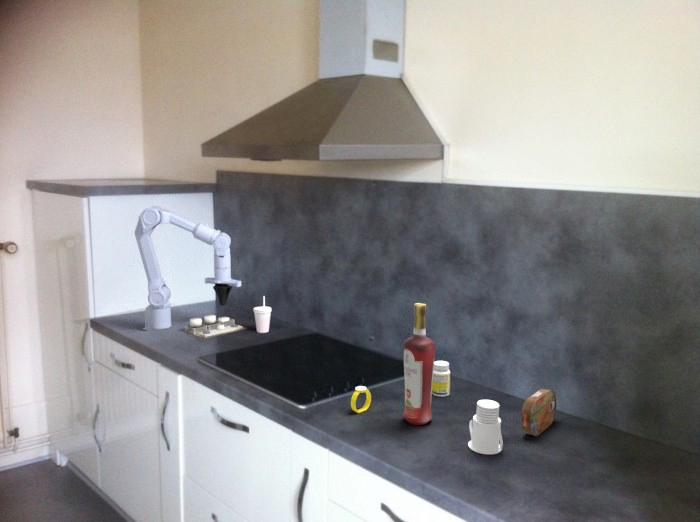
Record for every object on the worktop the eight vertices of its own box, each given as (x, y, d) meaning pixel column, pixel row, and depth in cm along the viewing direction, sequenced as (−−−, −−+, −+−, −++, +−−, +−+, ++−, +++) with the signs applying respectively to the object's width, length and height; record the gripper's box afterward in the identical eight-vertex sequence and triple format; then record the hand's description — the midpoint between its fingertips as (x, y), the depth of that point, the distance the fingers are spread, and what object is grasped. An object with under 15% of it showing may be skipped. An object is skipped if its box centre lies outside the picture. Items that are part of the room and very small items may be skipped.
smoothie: (270, 337, 222) (270, 298, 220) (252, 337, 223) (251, 297, 220) (273, 333, 229) (272, 294, 227) (255, 332, 229) (254, 294, 227)
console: (181, 335, 225) (181, 325, 225) (222, 325, 239) (222, 316, 238) (205, 342, 216) (205, 332, 215) (247, 332, 229) (247, 322, 229)
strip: (198, 334, 220) (198, 328, 220) (235, 326, 232) (235, 320, 232) (205, 336, 217) (205, 330, 217) (242, 328, 229) (242, 322, 229)
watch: (357, 416, 155) (356, 393, 154) (348, 413, 157) (347, 390, 156) (373, 408, 159) (372, 385, 158) (365, 405, 161) (364, 383, 160)
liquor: (395, 419, 153) (397, 303, 148) (418, 412, 157) (421, 299, 153) (416, 429, 147) (418, 309, 142) (439, 422, 151) (443, 305, 147)
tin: (531, 441, 141) (533, 404, 140) (517, 437, 143) (519, 401, 142) (556, 420, 153) (558, 386, 152) (543, 417, 155) (545, 383, 154)
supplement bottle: (439, 389, 173) (439, 359, 172) (453, 393, 170) (454, 363, 169) (427, 393, 170) (428, 362, 169) (442, 398, 167) (443, 366, 165)
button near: (187, 325, 224) (187, 319, 223) (197, 323, 227) (197, 317, 226) (194, 327, 221) (194, 321, 221) (204, 325, 224) (204, 319, 224)
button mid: (202, 322, 228) (201, 316, 228) (211, 320, 231) (211, 314, 231) (208, 324, 226) (208, 318, 225) (218, 322, 229) (218, 316, 228)
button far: (215, 324, 233) (215, 318, 233) (224, 322, 236) (224, 316, 236) (222, 326, 230) (222, 320, 230) (231, 324, 233) (231, 318, 233)
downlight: (459, 446, 138) (462, 402, 137) (478, 436, 143) (481, 394, 141) (491, 460, 133) (495, 414, 131) (509, 449, 138) (513, 405, 136)
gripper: (198, 267, 229) (199, 304, 231) (232, 270, 223) (233, 309, 225) (211, 264, 236) (211, 301, 238) (244, 267, 230) (244, 305, 232)
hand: (223, 304), depth 232 cm, fingers closed
